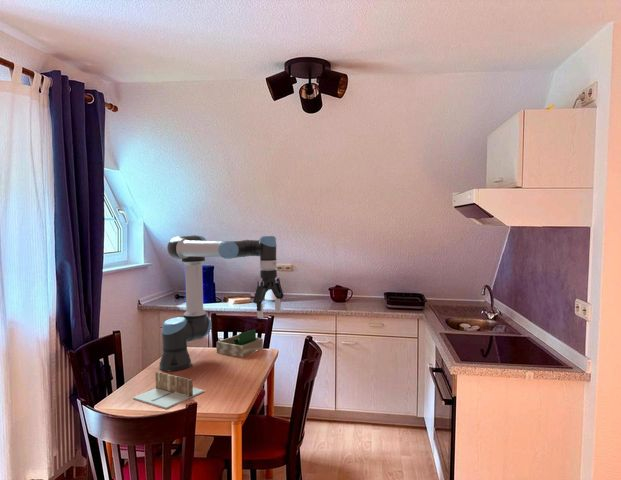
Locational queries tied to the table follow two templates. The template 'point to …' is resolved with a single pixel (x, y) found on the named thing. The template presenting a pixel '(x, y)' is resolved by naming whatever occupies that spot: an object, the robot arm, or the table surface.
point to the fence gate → (183, 386)
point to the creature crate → (238, 347)
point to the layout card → (164, 397)
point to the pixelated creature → (246, 337)
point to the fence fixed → (165, 381)
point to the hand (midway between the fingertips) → (269, 315)
